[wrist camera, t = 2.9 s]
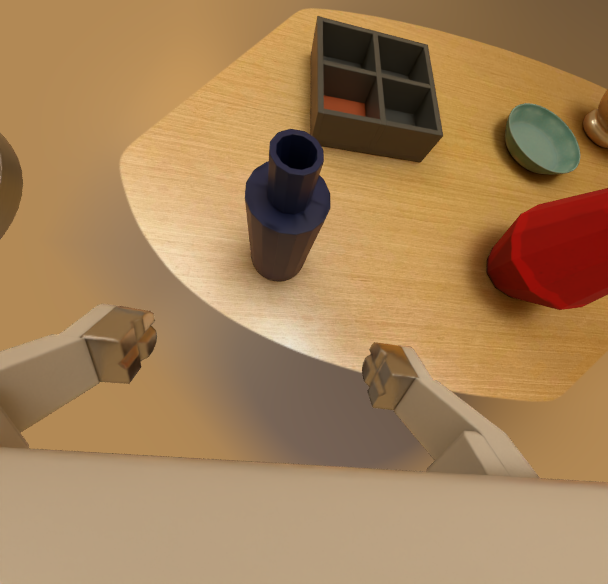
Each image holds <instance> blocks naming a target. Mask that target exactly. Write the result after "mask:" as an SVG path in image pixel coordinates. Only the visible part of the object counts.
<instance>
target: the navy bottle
mask: <svg viewBox="0 0 608 584" xmlns="http://www.w3.org/2000/svg"><path fill="white" fill-rule="evenodd" d="M323 162H324V155H323V149H322V147H321V145H320V144H319V142H318V141H317V139H316V138H314V137H313V136H311V135H310V134H308V133H307V132H304V131H300V130H295V129H288V130H285V131H281V132H278V133H277V134H276V135H275V136H274V138H273V139H272V140H271V141H270V149H269V161H268V162H266V163H264V164H262V165H261V166H259V167H258V168H256V169H255V170H254V171H253V172H252V174H251V176H250V177H249V179H248V180H247V182H246V190H245V203H246V212H247V222H248V231H249V241H250V250H251V258H252V262H253V265H254V267H255V269H256V270H257V271H258V273H260V274H261V275H262V276H263V277H265V278H267V279H269V280H273V281H285V280H288V279H291V278H292V277H294V276H295V275H296V274H297V273H298V272H299V271H300V270H301V268H302V266H303V264H304V262H305V259H306V257H307V255H308V253H309V251H310V249H311V247H312V245H313V243H314V241H315V239H316V237H317V235H318V233H319V231H320V229H321V227H322V225H323V223H324V221H325V219H326V216H327V214H328V212H329V210H330V192H329V190H328V188H327V185H326V183H325V181H324V179H323V178H322V177H321V176H320V175H319V174H320V171H321V168H322V165H323Z"/></svg>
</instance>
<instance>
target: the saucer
mask: <svg viewBox="0 0 608 584" xmlns="http://www.w3.org/2000/svg"><path fill="white" fill-rule="evenodd" d="M505 142H506V145H507V148H508V150H509V152H510V154H511V155H512V156H513V158H514V159H515V160H516V161H517V162H518V163H519V164H520V165H522V166H523V167H524V168H526V169H528V170H530V171H532V172H535V173H539V174H564V173H569V172H571V171H573V170H575V169H576V168H577V166H578V164H579V162H580V149H579V145H578V142H577V140H576V138H575V136H574V134H573V133H572V131H571V130H570V129H569V127H568V126H567V125H566V124H565V123H564V122H563V121H562V120H561V119H560V118H559V117H558V116H557V115H555V114H554V113H553V112H551V111H549V110H548V109H546V108H544V107H542V106H539V105H536V104H529V103H525V104H520V105H518V106H516V107H515V108H514V109H513V110H512V111H511V113H510V115H509V118H508V121H507V124H506V130H505Z"/></svg>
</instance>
